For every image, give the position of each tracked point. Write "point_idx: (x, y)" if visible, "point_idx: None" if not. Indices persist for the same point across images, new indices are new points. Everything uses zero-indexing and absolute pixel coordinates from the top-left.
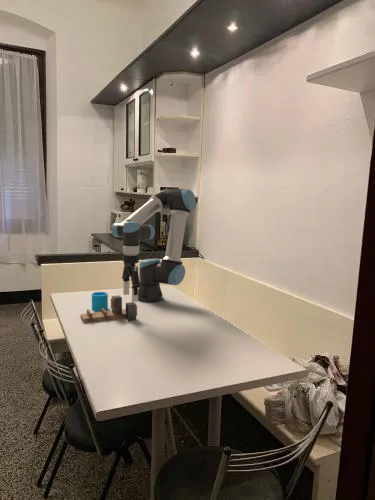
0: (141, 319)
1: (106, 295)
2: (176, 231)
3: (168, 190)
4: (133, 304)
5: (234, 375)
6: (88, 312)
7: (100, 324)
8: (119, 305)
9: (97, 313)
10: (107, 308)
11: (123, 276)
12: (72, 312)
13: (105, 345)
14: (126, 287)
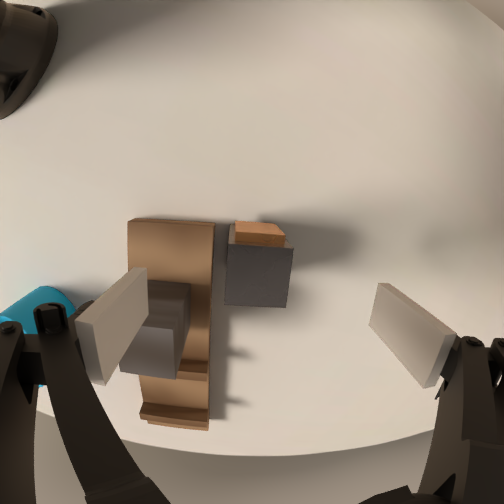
0: (276, 196)
1: (29, 332)
2: None
3: None
4: (287, 268)
5: None
6: (176, 422)
7: (252, 382)
8: (182, 318)
9: (155, 379)
10: (58, 293)
11: (34, 406)
12: None
13: (421, 389)
14: (124, 322)
